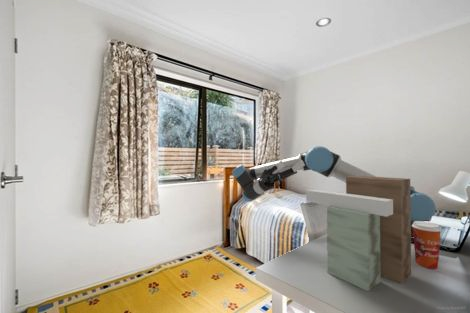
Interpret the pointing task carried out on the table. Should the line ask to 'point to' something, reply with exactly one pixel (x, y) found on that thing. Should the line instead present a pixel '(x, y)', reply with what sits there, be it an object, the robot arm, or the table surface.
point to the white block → (351, 202)
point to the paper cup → (426, 243)
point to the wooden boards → (371, 235)
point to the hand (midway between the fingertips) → (293, 162)
